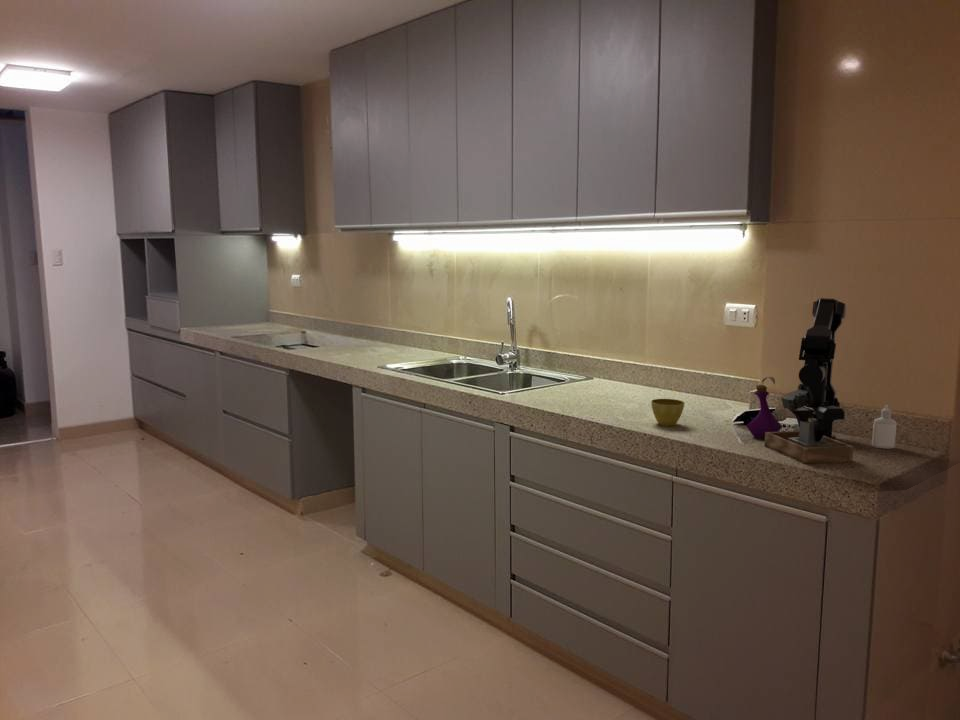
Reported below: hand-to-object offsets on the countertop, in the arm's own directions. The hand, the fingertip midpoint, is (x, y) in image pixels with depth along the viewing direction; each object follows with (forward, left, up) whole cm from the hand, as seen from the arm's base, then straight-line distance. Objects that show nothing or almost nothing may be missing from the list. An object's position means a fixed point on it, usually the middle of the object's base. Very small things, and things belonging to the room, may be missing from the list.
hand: (810, 438), depth 206 cm
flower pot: (-40, -22, -4) cm, 46 cm away
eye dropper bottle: (-4, +26, -4) cm, 27 cm away
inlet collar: (0, 0, -4) cm, 4 cm away
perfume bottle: (-20, -1, -4) cm, 21 cm away
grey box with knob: (0, 0, -4) cm, 4 cm away
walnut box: (-1, 0, -4) cm, 4 cm away
